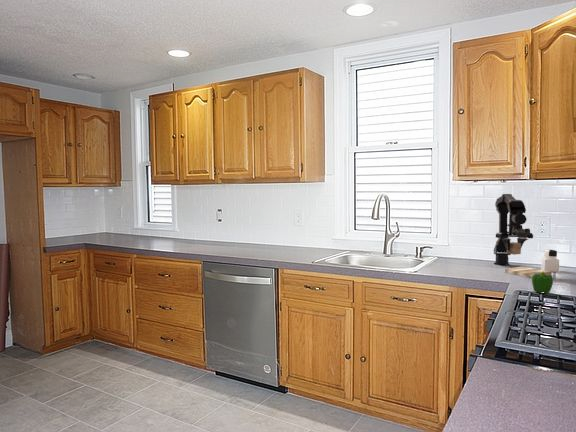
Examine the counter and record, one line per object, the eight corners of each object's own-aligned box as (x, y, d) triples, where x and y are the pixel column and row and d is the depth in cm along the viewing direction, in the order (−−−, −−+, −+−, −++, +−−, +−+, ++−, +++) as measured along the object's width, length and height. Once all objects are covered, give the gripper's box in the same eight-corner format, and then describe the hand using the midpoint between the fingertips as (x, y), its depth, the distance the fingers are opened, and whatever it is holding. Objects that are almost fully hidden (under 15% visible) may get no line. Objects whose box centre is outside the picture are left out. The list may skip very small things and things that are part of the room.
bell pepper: (534, 289, 204) (535, 268, 203) (554, 292, 198) (555, 270, 197) (528, 292, 198) (529, 271, 197) (549, 295, 192) (550, 273, 191)
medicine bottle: (554, 269, 249) (555, 249, 248) (558, 272, 242) (560, 251, 241) (540, 269, 251) (541, 248, 250) (544, 271, 244) (545, 250, 243)
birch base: (505, 272, 241) (505, 268, 241) (524, 269, 248) (524, 266, 248) (532, 278, 227) (532, 274, 227) (551, 275, 234) (551, 271, 234)
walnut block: (506, 253, 242) (506, 242, 242) (512, 252, 244) (513, 242, 244) (514, 254, 238) (514, 243, 237) (520, 254, 240) (521, 243, 239)
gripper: (507, 224, 231) (506, 253, 232) (540, 224, 232) (539, 253, 233) (495, 222, 242) (494, 250, 243) (527, 222, 243) (526, 249, 244)
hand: (513, 250), depth 241 cm, fingers closed on walnut block, 6 cm apart
